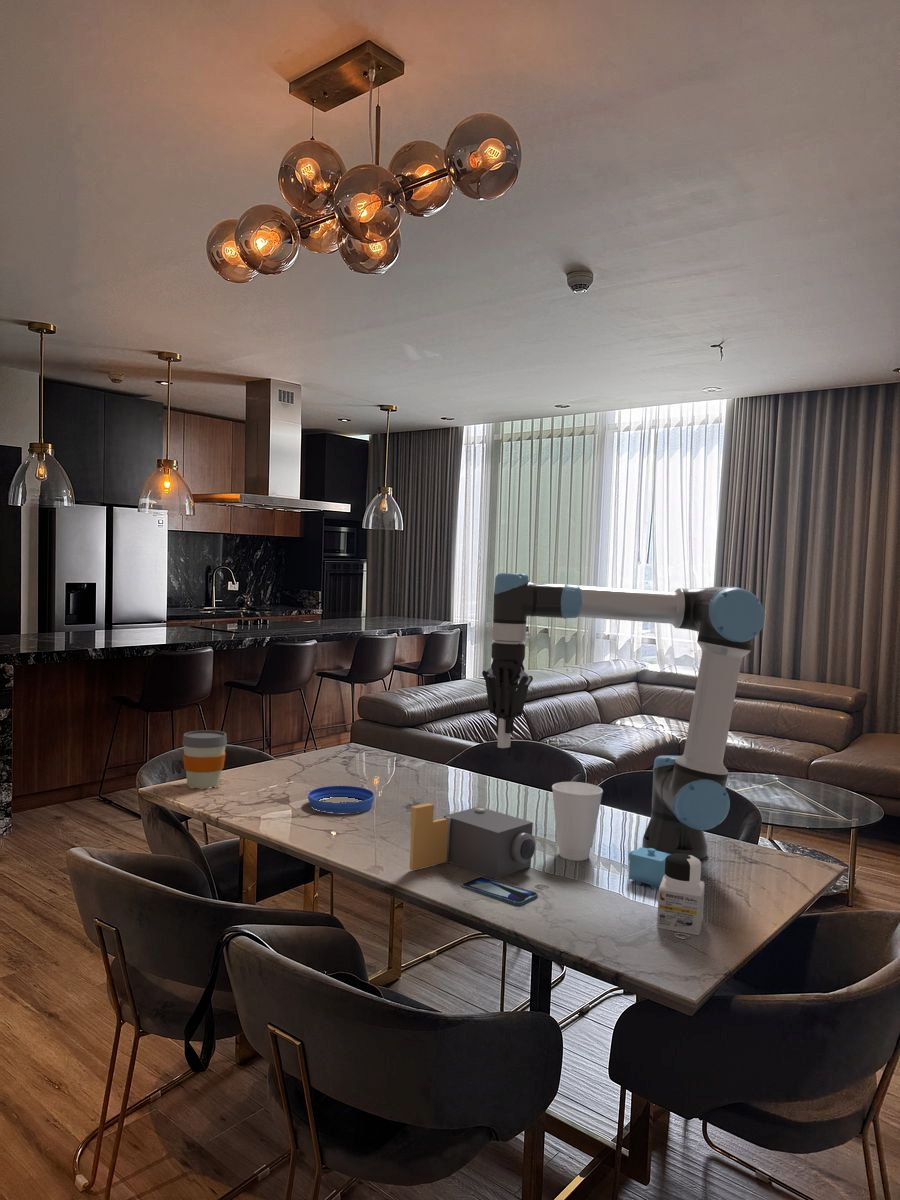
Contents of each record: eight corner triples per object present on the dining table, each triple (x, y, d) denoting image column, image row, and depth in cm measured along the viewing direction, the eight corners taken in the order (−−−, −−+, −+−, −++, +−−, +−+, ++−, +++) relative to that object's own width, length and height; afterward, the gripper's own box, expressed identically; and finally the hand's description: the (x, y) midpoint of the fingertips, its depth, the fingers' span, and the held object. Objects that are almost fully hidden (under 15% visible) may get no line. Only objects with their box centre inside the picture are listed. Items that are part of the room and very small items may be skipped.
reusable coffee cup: (171, 785, 242) (173, 733, 241) (206, 777, 252) (208, 728, 252) (199, 793, 235) (201, 740, 234) (234, 785, 245) (236, 734, 245)
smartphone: (480, 875, 178) (539, 893, 169) (480, 880, 178) (539, 898, 169) (459, 884, 173) (519, 903, 163) (459, 889, 173) (519, 908, 163)
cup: (571, 867, 187) (574, 796, 187) (538, 851, 197) (541, 784, 197) (610, 859, 193) (613, 791, 193) (576, 844, 203) (579, 779, 203)
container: (656, 928, 156) (660, 859, 156) (661, 913, 163) (664, 847, 163) (699, 936, 153) (703, 866, 153) (702, 920, 160) (706, 853, 160)
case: (539, 869, 185) (541, 822, 184) (505, 882, 176) (507, 832, 176) (477, 848, 197) (478, 804, 197) (442, 859, 188) (444, 813, 188)
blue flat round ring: (366, 796, 240) (366, 784, 240) (380, 814, 223) (380, 801, 223) (303, 799, 234) (303, 786, 234) (312, 817, 217) (313, 804, 217)
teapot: (686, 887, 178) (687, 853, 177) (675, 896, 173) (677, 860, 172) (633, 874, 185) (635, 840, 184) (621, 881, 180) (623, 847, 179)
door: (413, 871, 179) (415, 808, 179) (408, 869, 181) (411, 806, 180) (450, 862, 186) (453, 801, 186) (445, 860, 188) (448, 799, 187)
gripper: (542, 644, 184) (537, 750, 185) (497, 639, 193) (492, 740, 194) (521, 645, 179) (516, 754, 180) (475, 640, 188) (471, 744, 188)
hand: (503, 746), depth 187 cm, fingers closed
